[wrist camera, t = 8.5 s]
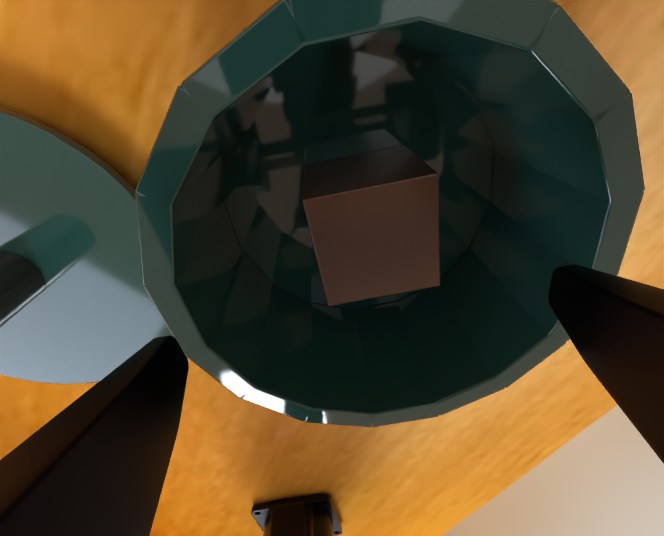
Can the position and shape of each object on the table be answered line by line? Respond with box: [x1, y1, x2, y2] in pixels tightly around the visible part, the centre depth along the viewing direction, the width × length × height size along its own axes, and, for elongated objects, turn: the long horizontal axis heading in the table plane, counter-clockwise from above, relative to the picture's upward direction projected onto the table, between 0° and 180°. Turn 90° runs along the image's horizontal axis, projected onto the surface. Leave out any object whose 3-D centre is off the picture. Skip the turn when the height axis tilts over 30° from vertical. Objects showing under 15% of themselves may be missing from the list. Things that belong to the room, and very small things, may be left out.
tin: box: [135, 0, 645, 427], centre depth 12 cm, size 13×13×6 cm
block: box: [302, 145, 440, 306], centre depth 12 cm, size 4×4×4 cm
